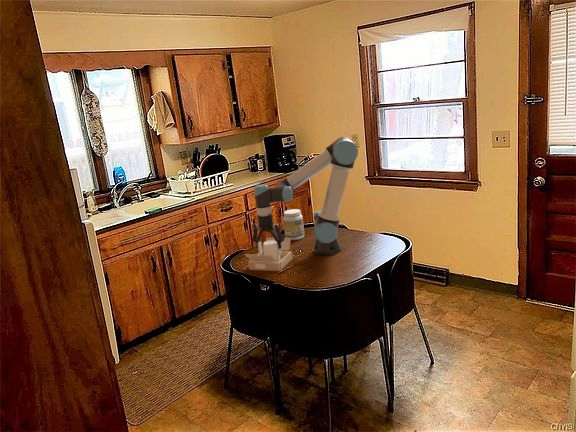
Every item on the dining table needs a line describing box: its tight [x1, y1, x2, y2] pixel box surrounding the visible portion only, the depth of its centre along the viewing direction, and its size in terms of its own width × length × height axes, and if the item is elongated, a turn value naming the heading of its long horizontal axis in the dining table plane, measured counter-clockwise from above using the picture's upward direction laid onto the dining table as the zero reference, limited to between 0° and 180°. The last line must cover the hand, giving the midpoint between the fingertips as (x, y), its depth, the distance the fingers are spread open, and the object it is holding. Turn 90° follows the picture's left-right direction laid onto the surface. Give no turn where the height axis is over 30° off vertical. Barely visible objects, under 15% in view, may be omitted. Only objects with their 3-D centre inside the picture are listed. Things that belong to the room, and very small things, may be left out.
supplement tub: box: [282, 208, 305, 241], centre depth 287 cm, size 12×12×17 cm
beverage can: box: [262, 240, 280, 263], centre depth 247 cm, size 8×8×12 cm
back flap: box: [265, 237, 292, 251], centre depth 257 cm, size 15×7×1 cm
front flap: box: [244, 253, 276, 262], centre depth 238 cm, size 15×7×1 cm
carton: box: [247, 249, 294, 273], centre depth 249 cm, size 19×17×4 cm
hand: (269, 254), depth 248 cm, fingers open, 10 cm apart
